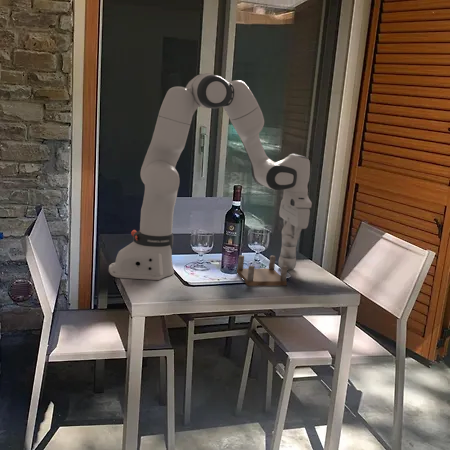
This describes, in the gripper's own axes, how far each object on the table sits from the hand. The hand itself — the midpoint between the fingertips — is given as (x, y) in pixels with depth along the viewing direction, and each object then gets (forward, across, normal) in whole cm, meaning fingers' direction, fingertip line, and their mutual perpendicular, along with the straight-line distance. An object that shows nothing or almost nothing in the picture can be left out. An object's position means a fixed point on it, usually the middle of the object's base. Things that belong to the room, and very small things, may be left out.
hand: (291, 234), depth 214 cm
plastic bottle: (+14, 0, 0) cm, 14 cm away
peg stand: (+13, +11, -14) cm, 23 cm away
